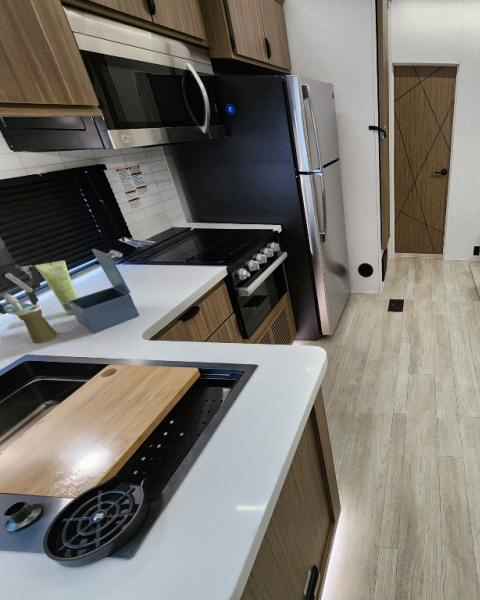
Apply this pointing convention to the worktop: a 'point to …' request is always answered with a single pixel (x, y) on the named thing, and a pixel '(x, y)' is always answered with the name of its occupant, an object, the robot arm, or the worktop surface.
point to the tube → (59, 282)
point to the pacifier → (18, 306)
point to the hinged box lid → (111, 268)
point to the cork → (38, 326)
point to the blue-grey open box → (103, 309)
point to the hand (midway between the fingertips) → (19, 308)
